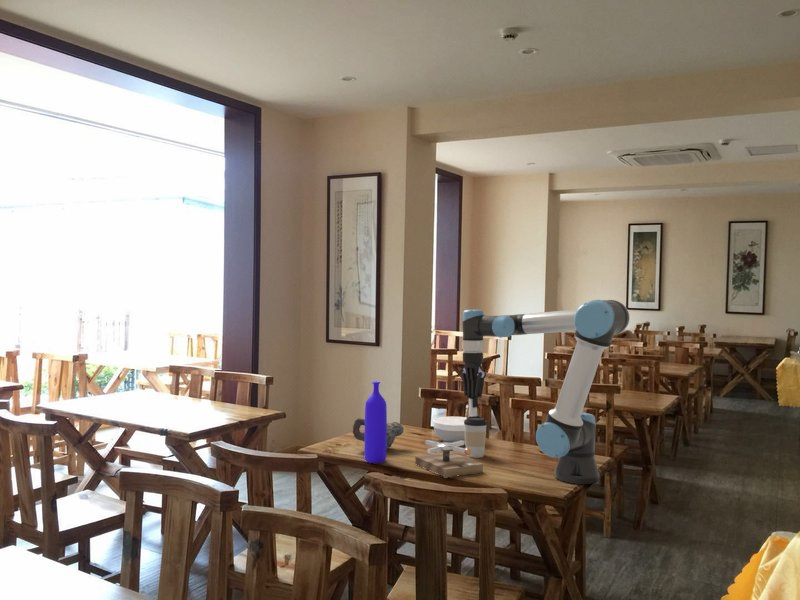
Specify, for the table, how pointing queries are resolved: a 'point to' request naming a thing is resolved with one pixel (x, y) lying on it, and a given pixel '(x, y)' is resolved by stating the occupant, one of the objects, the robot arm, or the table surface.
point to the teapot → (392, 431)
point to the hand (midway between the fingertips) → (472, 415)
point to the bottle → (375, 427)
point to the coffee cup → (475, 435)
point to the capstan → (447, 447)
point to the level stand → (449, 464)
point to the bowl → (450, 428)
